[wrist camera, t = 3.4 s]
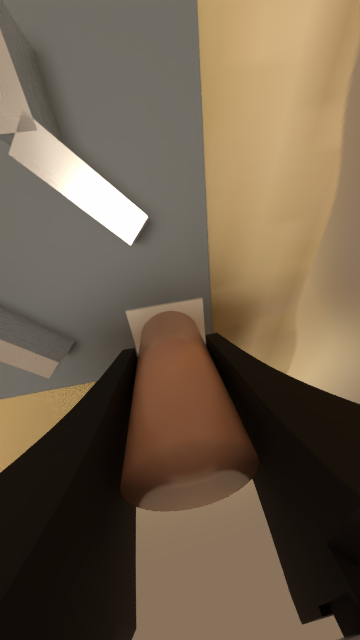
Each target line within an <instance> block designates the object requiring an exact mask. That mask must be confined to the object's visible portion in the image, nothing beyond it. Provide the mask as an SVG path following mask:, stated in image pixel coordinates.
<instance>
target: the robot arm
mask: <svg viewBox="0 0 360 640" xmlns="http://www.w3.org/2000/svg"><path fill="white" fill-rule="evenodd" d="M205 337H206V346H207V348H208V351H209V353H210V355H211V357H212V359H213V361H214V363H215V366H216V368H217V370H218V372H219V374H220V376H221V378H222V380H223V383H224V385H225V387H226V389H227V391H228V393H229V395H230V398H231V400H232V402H233V404H234V406H235V408H236V410H237V413H238V415H239V417H240V419H241V421H242V423H243V425H244V428H245V430H246V432H247V434H248V436H249V438H250V440H251V443H252V445H253V447H254V449H255V451H256V453H257V455H258V459H259V466H258V470H257V472H256V474H255V475H254V476H253V478H252V479H253V481H254V484H255V487H256V490H257V493H258V496H259V499H260V502H261V505H262V508H263V511H264V514H265V517H266V520H267V523H268V526H269V529H270V532H271V535H272V538H273V541H274V544H275V547H276V550H277V554H278V557H279V560H280V563H281V566H282V569H283V572H284V575H285V579H286V582H287V585H288V588H289V591H290V594H291V597H292V600H293V602H294V605H295V607H296V610H297V613H298V615H299V618H300V620H301V622H302V624H306V623H309V622H312V621H316V620H319V619H322V618H326V617H329V616H332V615H334V617H335V619H336V621H337V623H338V625H339V627H340V629H341V631H342V634H343V636H344V638H341V639H338V640H360V404H357V403H355V402H351V401H349V400H346V399H344V398H341V397H338V396H336V395H333V394H330V393H328V392H325V391H323V390H320V389H318V388H316V387H313V386H311V385H308V384H306V383H304V382H301V381H299V380H297V379H295V378H293V377H290V376H288V375H286V374H284V373H282V372H280V371H278V370H276V369H274V368H272V367H270V366H268V365H267V364H265V363H263V362H261V361H260V360H258V359H256V358H254V357H253V356H251V355H249V354H248V353H246V352H245V351H243V350H241V349H240V348H238V347H237V346H235V345H234V344H232V343H231V342H229V341H228V340H227V339H225V338H224V337H222V336H221V335H219V334H218V333H214V334H208V335H205ZM137 360H138V357H137V353H136V350H135V348H130V349H125V350H122V351H121V352H120V354H119V355H118V356H117V357H116V359H115V360H114V361H113V363H112V364H111V365H110V366H109V368H108V369H107V370H106V371H105V373H104V374H103V375H102V376H101V377H100V379H99V380H98V381H97V382H96V383H95V384H94V386H93V387H92V388H91V389H90V390H89V391H88V392H87V393H86V395H85V396H84V397H83V398H82V399H81V400H80V401H79V402H78V403H77V404H76V405H75V406H74V407H73V408H72V409H71V410H70V411H69V412H68V413H67V414H66V415H65V416H64V417H63V418H62V419H61V420H60V421H59V422H58V423H57V424H56V425H55V426H54V427H53V428H52V429H51V430H50V431H48V432H47V433H46V434H45V435H44V436H43V437H42V438H41V439H39V440H38V441H37V442H36V443H35V444H34V445H33V446H31V447H30V448H29V449H28V450H27V451H26V452H25V453H23V454H22V455H21V456H20V457H19V458H18V459H17V460H15V461H14V462H13V463H12V464H11V465H9V466H8V467H7V468H6V469H4V470H3V471H2V472H1V473H0V640H132V638H133V635H134V633H135V630H136V565H135V564H136V560H135V559H136V557H135V556H136V506H134V505H132V504H130V503H129V502H127V501H126V500H125V499H124V497H123V496H122V494H121V490H120V486H121V478H122V470H123V463H124V456H125V448H126V441H127V434H128V426H129V419H130V412H131V404H132V397H133V390H134V382H135V375H136V368H137Z"/></svg>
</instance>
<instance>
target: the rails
mask: <svg viewBox="0 0 360 640" xmlns="http://www.w3.org/2000/svg"><path fill="white" fill-rule="evenodd" d="M0 139H1V140H2V141H4V142H5V143H7V144H9V145H10V146H11V148H10V151H9V155H10V156H12V157H13V158H14V159H16V160H17V161H18V162H20V163H21V164H22V165H24V166H25V167H26V168H28V169H29V170H30V171H32V172H33V173H34V174H36V175H37V176H38V177H40V178H41V179H42V180H44V181H45V182H47V183H48V184H49V185H51V186H52V187H53V188H55V189H56V190H57V191H59V192H60V193H61V194H63V195H64V196H65V197H67V198H68V199H69V200H71V201H72V202H73V203H75V204H76V205H77V206H79V207H80V208H81V209H83V210H84V211H85V212H87V213H88V214H89V215H91V216H92V217H93V218H95V219H96V220H97V221H99V222H100V223H101V224H103V225H104V226H106V227H107V228H108V229H110V230H111V231H112V232H114V233H115V234H116V235H118V236H119V237H120V238H122V239H123V240H124V241H126V242H127V243H128V244H130V245H132V244H135V243H136V242H137V240H138V239H139V237H140V235H141V234H142V232H143V230H144V229H145V227H146V226H147V224H148V222H149V221H150V220H149V217H148V216H147V215H146V214H145V213H144V212H142V211H141V210H140V209H139V208H138V207H137V206H135V205H134V204H133V203H132V202H131V201H129V200H128V199H127V198H126V197H125V196H124V195H122V194H121V193H120V192H119V191H118V190H117V189H115V188H114V187H113V186H112V185H111V184H110V183H108V182H107V181H106V180H105V179H104V178H102V177H101V176H100V175H99V174H98V173H97V172H95V171H94V170H93V169H92V168H91V167H90V166H88V165H87V164H86V163H85V162H84V161H82V160H81V159H80V158H79V157H78V156H77V155H75V154H74V153H73V152H72V151H71V150H70V149H68V148H67V147H66V146H65V145H64V143H63V140H62V137H61V134H60V131H59V128H58V124H57V121H56V118H55V115H54V112H53V109H52V106H51V103H50V99H49V96H48V93H47V90H46V87H45V84H44V81H43V78H42V74H41V71H40V68H39V65H38V62H37V59H36V56H35V53H34V50H33V47H32V46H31V44H30V43H29V41H28V40H27V38H26V36H25V35H24V33H23V32H22V30H21V29H20V27H19V26H18V24H17V23H16V21H15V20H14V18H13V16H12V15H11V13H10V12H9V10H8V9H7V7H6V6H5V4H4V3H3V1H2V0H0ZM75 341H76V340H74V339H72V338H70V337H67V336H65V335H63V334H61V333H59V332H57V331H54V330H52V329H50V328H48V327H46V326H43V325H41V324H39V323H37V322H35V321H32V320H30V319H28V318H26V317H24V316H22V315H19V314H17V313H15V312H13V311H11V310H8V309H6V308H4V307H2V306H0V361H1V362H4V363H7V364H9V365H12V366H15V367H18V368H21V369H23V370H26V371H29V372H32V373H35V374H37V375H40V376H43V377H46V378H50V377H51V375H52V374H53V373H54V371H55V370H56V369H57V367H58V366H59V365H60V363H61V362H62V360H63V359H64V358H65V356H66V355H67V354H68V352H69V350H70V349H71V347H72V345H73V344H74V342H75Z"/></svg>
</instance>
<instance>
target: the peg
mask: <svg viewBox="0 0 360 640" xmlns="http://www.w3.org/2000/svg"><path fill="white" fill-rule="evenodd" d="M258 466H259V459H258V455H257V453H256V451H255V449H254V447H253V445H252V443H251V440H250V438H249V436H248V434H247V432H246V430H245V428H244V425H243V423H242V421H241V419H240V417H239V415H238V413H237V410H236V408H235V406H234V404H233V402H232V400H231V398H230V395H229V393H228V391H227V389H226V387H225V385H224V383H223V380H222V378H221V376H220V374H219V372H218V370H217V368H216V366H215V363H214V361H213V359H212V357H211V355H210V353H209V351H208V348H207V346H206V344H205V342H204V340H203V338H202V336H201V333H200V331H199V329H198V327H197V325H196V323H195V322H194V320H193V319H192V318H191V317H189V316H188V315H186V314H184V313H181V312H178V311H165V312H161V313H158V314H156V315H154V316H153V317H151V318H150V319H149V320H148V321H147V322H146V323H145V325H144V327H143V329H142V332H141V338H140V346H139V353H138V360H137V368H136V375H135V382H134V390H133V397H132V404H131V412H130V419H129V426H128V434H127V441H126V448H125V456H124V463H123V470H122V478H121V486H120V490H121V494H122V496H123V497H124V499H125V500H126V501H127V502H129V503H130V504H132V505H134V506H136V507H139V508H142V509H146V510H152V511H179V510H187V509H192V508H197V507H201V506H204V505H208V504H211V503H213V502H216V501H219V500H221V499H223V498H226V497H228V496H229V495H231V494H233V493H235V492H236V491H238V490H239V489H241V488H242V487H244V486H245V485H246V484H247V483H248V482H249V481H250V480H251V479H252V478H253V476H254V475H255V474H256V472H257V470H258Z"/></svg>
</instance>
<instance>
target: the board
mask: <svg viewBox="0 0 360 640" xmlns="http://www.w3.org/2000/svg"><path fill="white" fill-rule="evenodd" d="M2 1H3V3H4V4H5V6H6V7H7V9H8V10H9V12H10V13H11V15H12V16H13V18H14V20H15V21H16V23H17V24H18V26H19V27H20V29H21V30H22V32H23V33H24V35H25V36H26V38H27V40H28V41H29V43H30V44H31V46H32V47H33V50H34V53H35V56H36V59H37V62H38V65H39V68H40V71H41V74H42V78H43V81H44V84H45V87H46V90H47V93H48V96H49V99H50V103H51V106H52V109H53V112H54V115H55V118H56V121H57V124H58V128H59V131H60V134H61V137H62V140H63V143H64V145H65V146H66V147H67V148H68V149H70V150H71V151H72V152H73V153H74V154H75V155H77V156H78V157H79V158H80V159H81V160H82V161H84V162H85V163H86V164H87V165H88V166H90V167H91V168H92V169H93V170H94V171H95V172H97V173H98V174H99V175H100V176H101V177H102V178H104V179H105V180H106V181H107V182H108V183H110V184H111V185H112V186H113V187H114V188H115V189H117V190H118V191H119V192H120V193H121V194H122V195H124V196H125V197H126V198H127V199H128V200H129V201H131V202H132V203H133V204H134V205H135V206H137V207H138V208H139V209H140V210H141V211H142V212H144V213H145V214H146V215H147V216H148V217H149V220H150V221H149V222H148V224H147V226H146V227H145V229H144V230H143V232H142V234H141V235H140V237H139V239H138V240H137V242H136V243H135V244H132V245H130V244H128V243H127V242H126V241H124V240H123V239H122V238H120V237H119V236H118V235H116V234H115V233H114V232H112V231H111V230H110V229H108V228H107V227H106V226H104V225H103V224H101V223H100V222H99V221H97V220H96V219H95V218H93V217H92V216H91V215H89V214H88V213H87V212H85V211H84V210H83V209H81V208H80V207H79V206H77V205H76V204H75V203H73V202H72V201H71V200H69V199H68V198H67V197H65V196H64V195H63V194H61V193H60V192H59V191H57V190H56V189H55V188H53V187H52V186H51V185H49V184H48V183H47V182H45V181H44V180H42V179H41V178H40V177H38V176H37V175H36V174H34V173H33V172H32V171H30V170H29V169H28V168H26V167H25V166H24V165H22V164H21V163H20V162H18V161H17V160H16V159H14V158H13V157H12V156H10V155H9V151H10V148H11V146H10V145H9V144H7V143H5V142H4V141H2V140H1V139H0V306H2V307H4V308H6V309H8V310H11V311H13V312H15V313H17V314H19V315H22V316H24V317H26V318H28V319H30V320H32V321H35V322H37V323H39V324H41V325H43V326H46V327H48V328H50V329H52V330H54V331H57V332H59V333H61V334H63V335H65V336H67V337H70V338H72V339H74V340H76V341H75V342H74V344H73V345H72V347H71V349H70V350H69V352H68V354H67V355H66V356H65V358H64V359H63V360H62V362H61V363H60V365H59V366H58V367H57V369H56V370H55V371H54V373H53V374H52V375H51V377H50V378H46V377H43V376H40V375H37V374H35V373H32V372H29V371H26V370H23V369H21V368H18V367H15V366H12V365H9V364H7V363H4V362H1V361H0V399H5V398H10V397H16V396H21V395H26V394H31V393H37V392H42V391H47V390H53V389H58V388H63V387H68V386H74V385H79V384H84V383H89V382H95V381H98V380H99V379H100V377H101V376H102V375H103V374H104V373H105V371H106V370H107V369H108V368H109V366H110V365H111V364H112V363H113V361H114V360H115V359H116V357H117V356H118V355H119V354H120V352H121V351H122V350H125V349H130V348H135V350H136V353H137V357H138V353H139V346H140V338H141V332H142V329H143V327H144V325H145V323H146V322H147V321H148V320H149V319H150V318H151V317H153V316H154V315H156V314H158V313H161V312H165V311H178V312H181V313H184V314H186V315H188V316H189V317H191V318H192V319H193V320H194V322H195V323H196V325H197V327H198V329H199V331H200V333H201V336H202V338H203V340H204V342H205V344H206V337H205V335H208V334H212V318H211V297H210V275H209V253H208V231H207V209H206V188H205V166H204V144H203V122H202V101H201V79H200V57H199V35H198V13H197V0H2Z"/></svg>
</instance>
